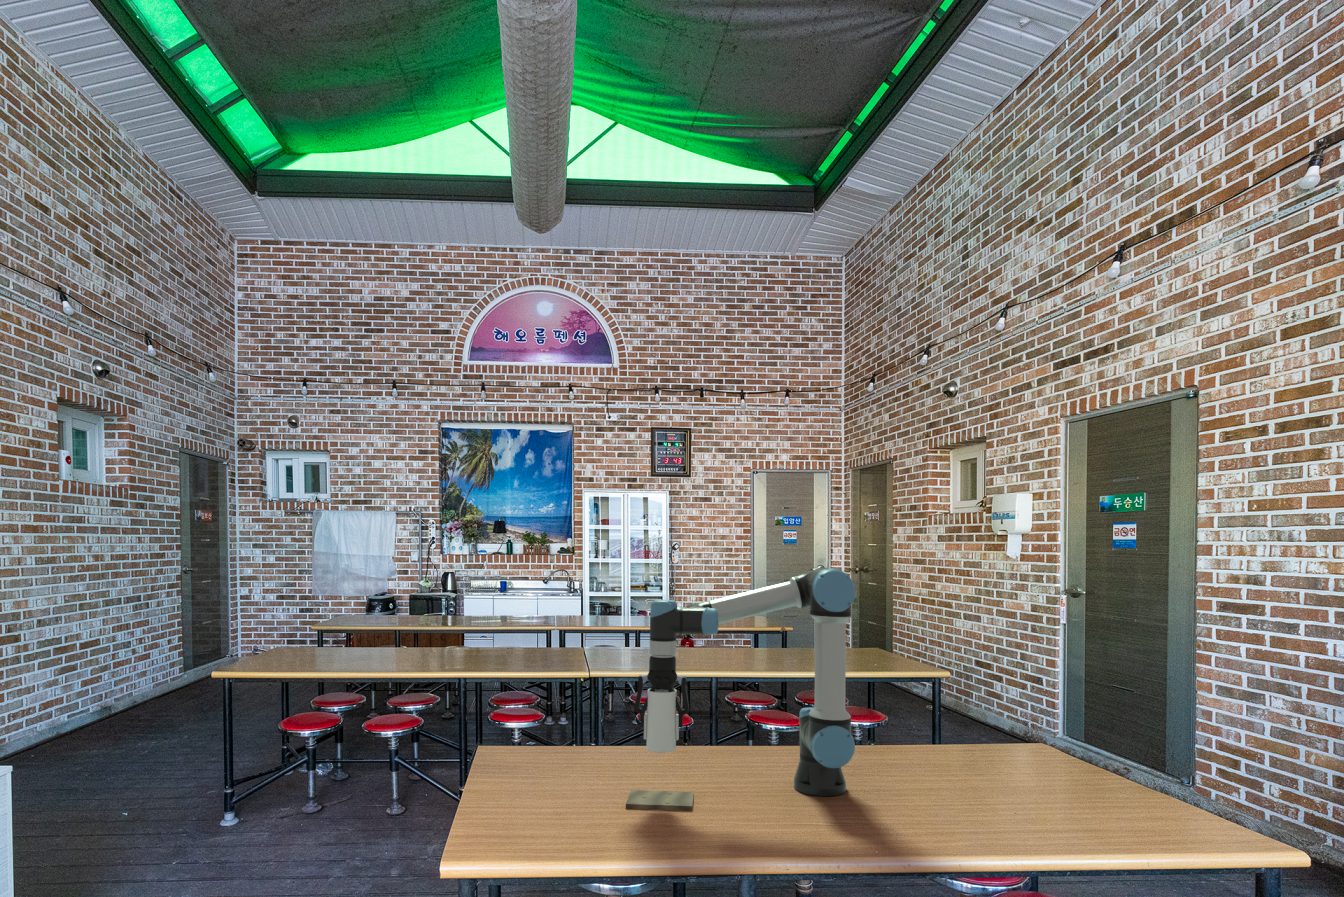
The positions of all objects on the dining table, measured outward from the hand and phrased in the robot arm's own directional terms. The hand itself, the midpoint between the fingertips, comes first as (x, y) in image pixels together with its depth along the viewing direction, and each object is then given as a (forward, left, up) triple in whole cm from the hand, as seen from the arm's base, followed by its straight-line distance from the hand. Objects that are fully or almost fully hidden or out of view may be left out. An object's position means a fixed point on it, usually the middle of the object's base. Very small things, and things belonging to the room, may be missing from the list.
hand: (661, 738), depth 215 cm
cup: (0, 0, -3) cm, 3 cm away
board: (0, 0, -17) cm, 17 cm away
